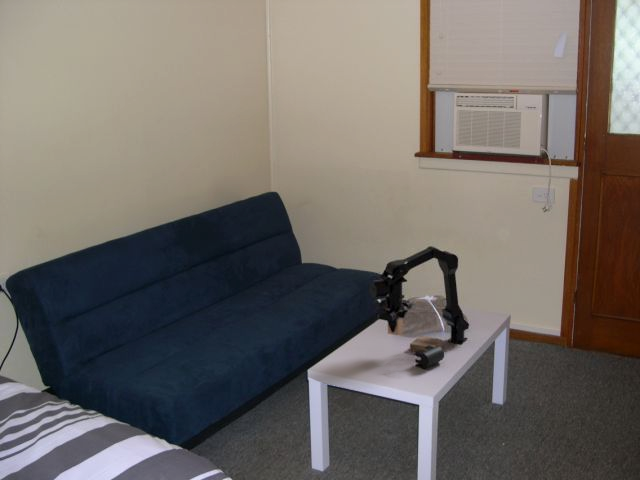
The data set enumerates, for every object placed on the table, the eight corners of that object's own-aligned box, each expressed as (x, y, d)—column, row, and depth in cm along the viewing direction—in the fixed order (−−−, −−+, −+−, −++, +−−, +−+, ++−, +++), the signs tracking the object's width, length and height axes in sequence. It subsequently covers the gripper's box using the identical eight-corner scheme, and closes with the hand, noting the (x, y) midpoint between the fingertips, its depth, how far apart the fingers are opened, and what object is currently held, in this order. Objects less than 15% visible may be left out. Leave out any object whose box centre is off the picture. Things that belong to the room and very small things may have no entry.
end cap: (428, 371, 295) (428, 355, 293) (414, 366, 300) (414, 350, 298) (444, 363, 301) (444, 347, 300) (430, 358, 306) (430, 343, 305)
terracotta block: (393, 329, 311) (392, 315, 310) (403, 331, 309) (402, 317, 307) (387, 333, 308) (387, 319, 306) (398, 335, 305) (397, 321, 304)
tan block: (420, 342, 323) (420, 335, 322) (442, 346, 318) (442, 339, 317) (410, 350, 315) (410, 343, 314) (432, 355, 310) (432, 348, 309)
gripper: (388, 284, 316) (388, 319, 320) (366, 297, 301) (366, 334, 305) (412, 287, 310) (412, 323, 314) (391, 301, 295) (391, 339, 299)
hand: (395, 330), depth 308 cm, fingers closed on terracotta block, 4 cm apart
